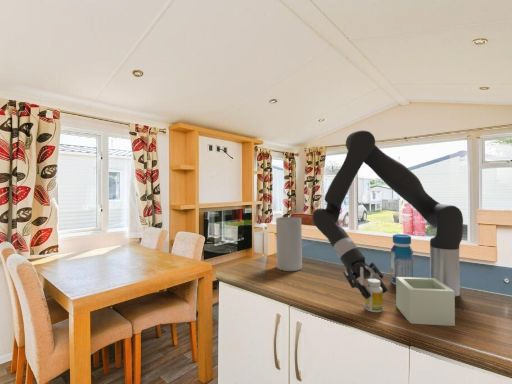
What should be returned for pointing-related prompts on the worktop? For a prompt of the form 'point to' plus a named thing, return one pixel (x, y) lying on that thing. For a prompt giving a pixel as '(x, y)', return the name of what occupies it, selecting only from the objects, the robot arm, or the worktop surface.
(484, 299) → the worktop surface
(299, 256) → the cylinder vase
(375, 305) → the supplement bottle
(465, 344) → the worktop surface
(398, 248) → the beverage bottle
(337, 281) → the worktop surface
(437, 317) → the open box
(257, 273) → the worktop surface
